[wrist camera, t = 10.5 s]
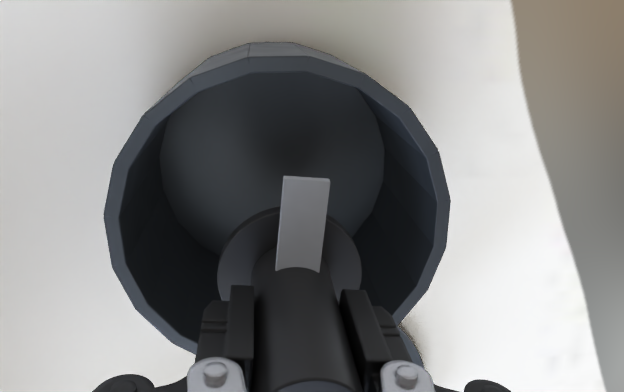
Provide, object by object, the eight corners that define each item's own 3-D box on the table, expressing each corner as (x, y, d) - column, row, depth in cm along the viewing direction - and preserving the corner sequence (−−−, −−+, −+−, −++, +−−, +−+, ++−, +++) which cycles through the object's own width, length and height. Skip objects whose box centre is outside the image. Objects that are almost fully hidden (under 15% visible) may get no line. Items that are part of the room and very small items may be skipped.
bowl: (106, 199, 29) (41, 280, 20) (238, -15, 26) (230, -29, 17) (303, 308, 33) (321, 416, 24) (438, 135, 30) (515, 186, 21)
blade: (343, 367, 20) (391, 556, 13) (213, 365, 19) (189, 563, 12) (374, 163, 17) (456, 265, 10) (223, 152, 17) (199, 253, 10)
